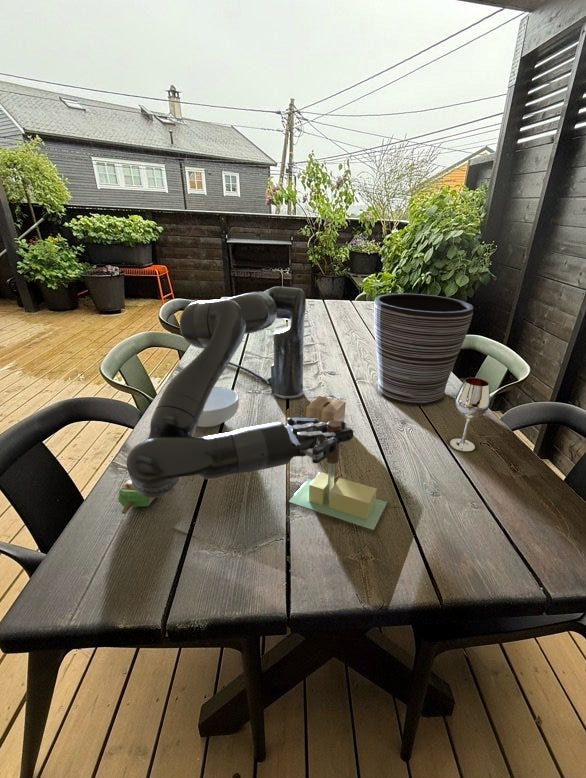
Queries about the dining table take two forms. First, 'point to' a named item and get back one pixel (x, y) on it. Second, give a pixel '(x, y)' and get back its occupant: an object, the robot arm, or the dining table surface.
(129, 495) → the skewer
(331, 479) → the knife
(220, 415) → the cereal bowl
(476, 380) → the wineglass
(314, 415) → the knife block
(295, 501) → the butter dish
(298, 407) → the dining table surface
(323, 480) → the butter slice
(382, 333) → the planter pot
